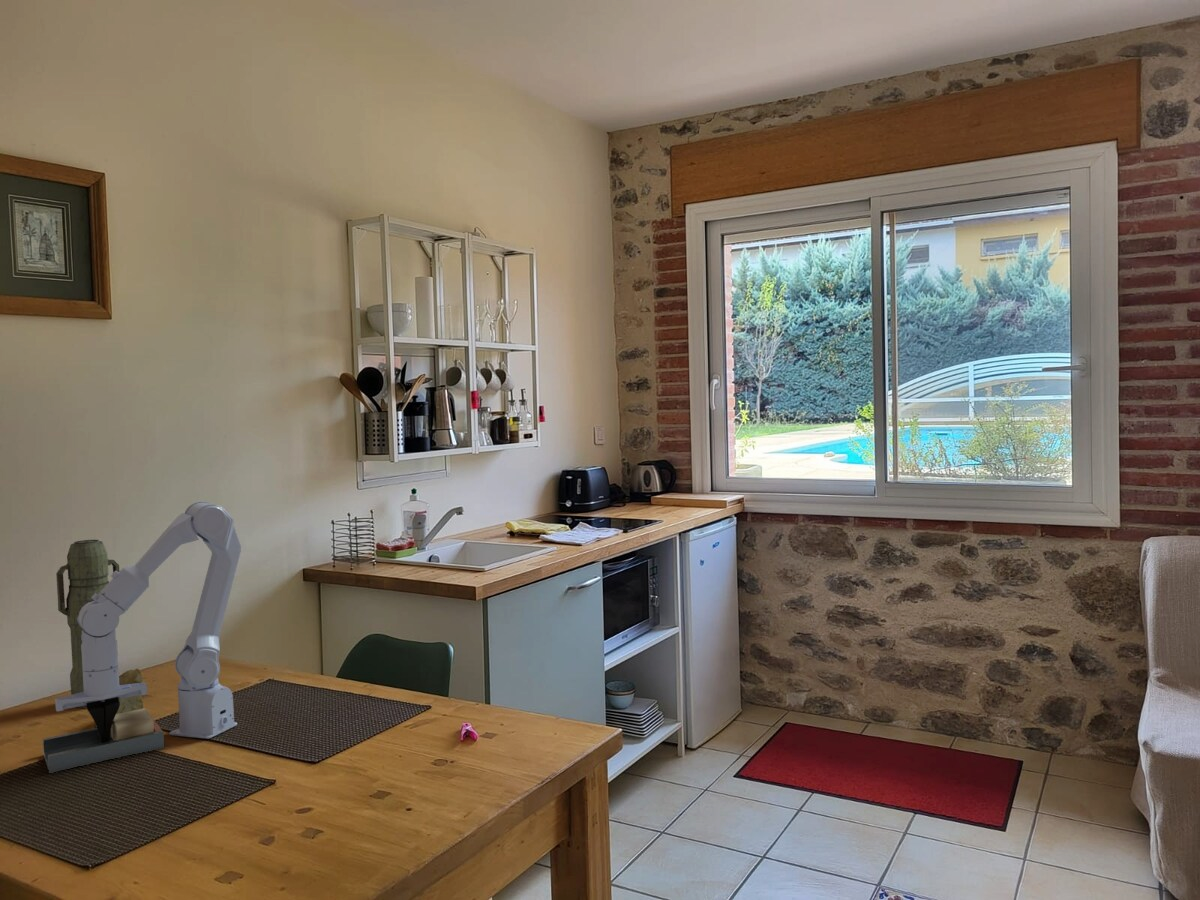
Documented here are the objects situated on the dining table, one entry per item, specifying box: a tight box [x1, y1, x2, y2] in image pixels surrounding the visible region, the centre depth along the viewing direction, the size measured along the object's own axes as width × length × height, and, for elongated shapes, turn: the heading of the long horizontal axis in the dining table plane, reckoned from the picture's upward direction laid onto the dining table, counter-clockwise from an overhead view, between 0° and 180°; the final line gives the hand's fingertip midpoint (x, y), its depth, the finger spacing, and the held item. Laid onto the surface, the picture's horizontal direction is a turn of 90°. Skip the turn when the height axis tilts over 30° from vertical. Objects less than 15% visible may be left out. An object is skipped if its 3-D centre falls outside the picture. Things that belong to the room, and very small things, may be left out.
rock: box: [94, 668, 144, 727], centre depth 181 cm, size 11×9×10 cm
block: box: [111, 707, 154, 741], centre depth 166 cm, size 6×8×4 cm
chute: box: [42, 715, 165, 774], centre depth 163 cm, size 18×11×3 cm, turn 126°
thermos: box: [55, 539, 120, 709], centre depth 193 cm, size 9×12×35 cm
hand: (104, 741), depth 163 cm, fingers closed
